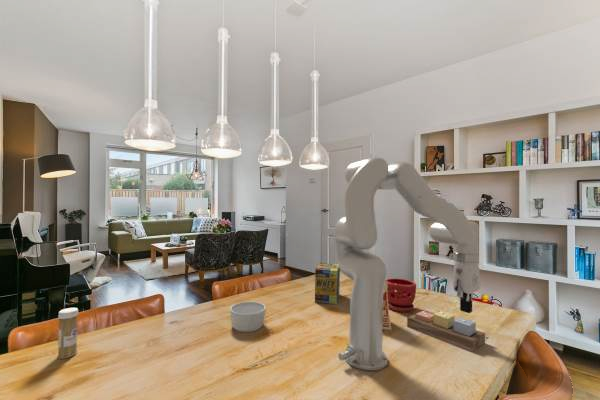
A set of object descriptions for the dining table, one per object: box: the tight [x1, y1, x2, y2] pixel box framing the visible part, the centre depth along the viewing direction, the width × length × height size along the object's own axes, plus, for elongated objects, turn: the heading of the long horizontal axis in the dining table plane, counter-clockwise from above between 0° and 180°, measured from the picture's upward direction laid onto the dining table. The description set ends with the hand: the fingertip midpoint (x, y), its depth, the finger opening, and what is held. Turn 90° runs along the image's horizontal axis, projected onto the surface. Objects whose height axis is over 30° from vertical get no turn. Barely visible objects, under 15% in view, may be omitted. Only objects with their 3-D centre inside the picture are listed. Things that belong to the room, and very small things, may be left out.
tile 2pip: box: [433, 310, 455, 329], centre depth 104 cm, size 5×5×4 cm
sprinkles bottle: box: [57, 307, 79, 360], centre depth 86 cm, size 5×5×14 cm
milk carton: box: [383, 281, 393, 331], centre depth 112 cm, size 9×9×20 cm
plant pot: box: [386, 278, 417, 313], centre depth 130 cm, size 13×13×12 cm
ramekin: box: [229, 301, 267, 333], centre depth 108 cm, size 13×13×7 cm
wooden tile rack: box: [406, 313, 486, 353], centre depth 104 cm, size 10×23×3 cm, turn 37°
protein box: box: [314, 262, 341, 305], centre depth 141 cm, size 10×15×16 cm
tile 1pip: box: [453, 316, 477, 336], centre depth 98 cm, size 5×5×4 cm
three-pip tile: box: [415, 310, 435, 323], centre depth 110 cm, size 5×5×4 cm
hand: (466, 311), depth 99 cm, fingers closed
